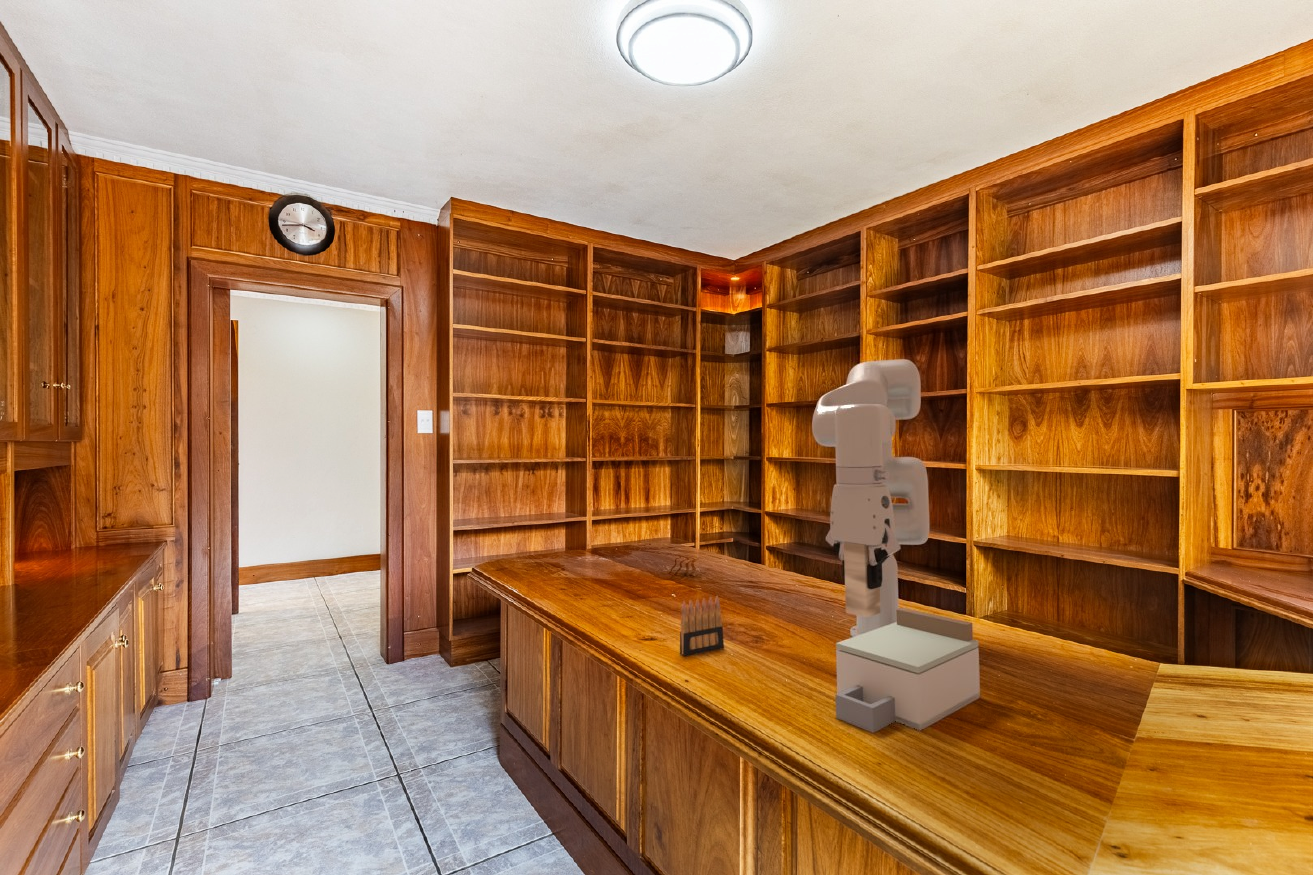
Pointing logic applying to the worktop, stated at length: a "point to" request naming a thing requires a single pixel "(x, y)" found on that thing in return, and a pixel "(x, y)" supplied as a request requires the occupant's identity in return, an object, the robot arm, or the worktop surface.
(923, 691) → the toolbox
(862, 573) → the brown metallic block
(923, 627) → the toolbox lid
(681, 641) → the ammunition clip
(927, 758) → the worktop surface
